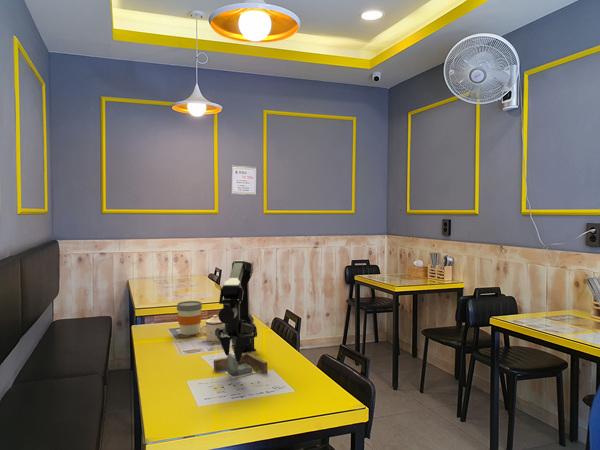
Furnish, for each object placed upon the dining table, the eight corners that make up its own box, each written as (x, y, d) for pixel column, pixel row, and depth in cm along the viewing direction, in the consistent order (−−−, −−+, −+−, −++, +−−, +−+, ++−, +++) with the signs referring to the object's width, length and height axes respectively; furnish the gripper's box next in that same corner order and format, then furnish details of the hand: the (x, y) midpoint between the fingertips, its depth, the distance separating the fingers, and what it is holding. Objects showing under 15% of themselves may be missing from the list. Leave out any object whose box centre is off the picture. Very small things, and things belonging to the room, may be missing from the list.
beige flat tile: (246, 367, 182) (246, 367, 182) (256, 373, 176) (256, 372, 176) (224, 372, 176) (224, 372, 176) (233, 378, 170) (233, 378, 170)
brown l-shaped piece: (248, 362, 188) (248, 352, 188) (267, 372, 176) (267, 362, 176) (213, 369, 180) (213, 359, 180) (231, 381, 167) (231, 370, 167)
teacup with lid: (223, 335, 228) (223, 312, 228) (226, 340, 220) (226, 316, 219) (198, 338, 225) (198, 314, 224) (201, 343, 216) (200, 318, 216)
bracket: (233, 376, 172) (233, 357, 171) (227, 372, 176) (227, 354, 176) (252, 372, 176) (252, 353, 176) (246, 368, 180) (246, 350, 180)
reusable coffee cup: (199, 335, 229) (198, 305, 229) (174, 336, 229) (173, 305, 229) (204, 329, 242) (204, 300, 241) (180, 329, 242) (180, 300, 241)
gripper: (263, 318, 170) (263, 360, 171) (239, 310, 186) (240, 348, 186) (236, 323, 164) (236, 366, 164) (214, 313, 179) (214, 353, 180)
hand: (232, 358), depth 174 cm, fingers open, 9 cm apart
